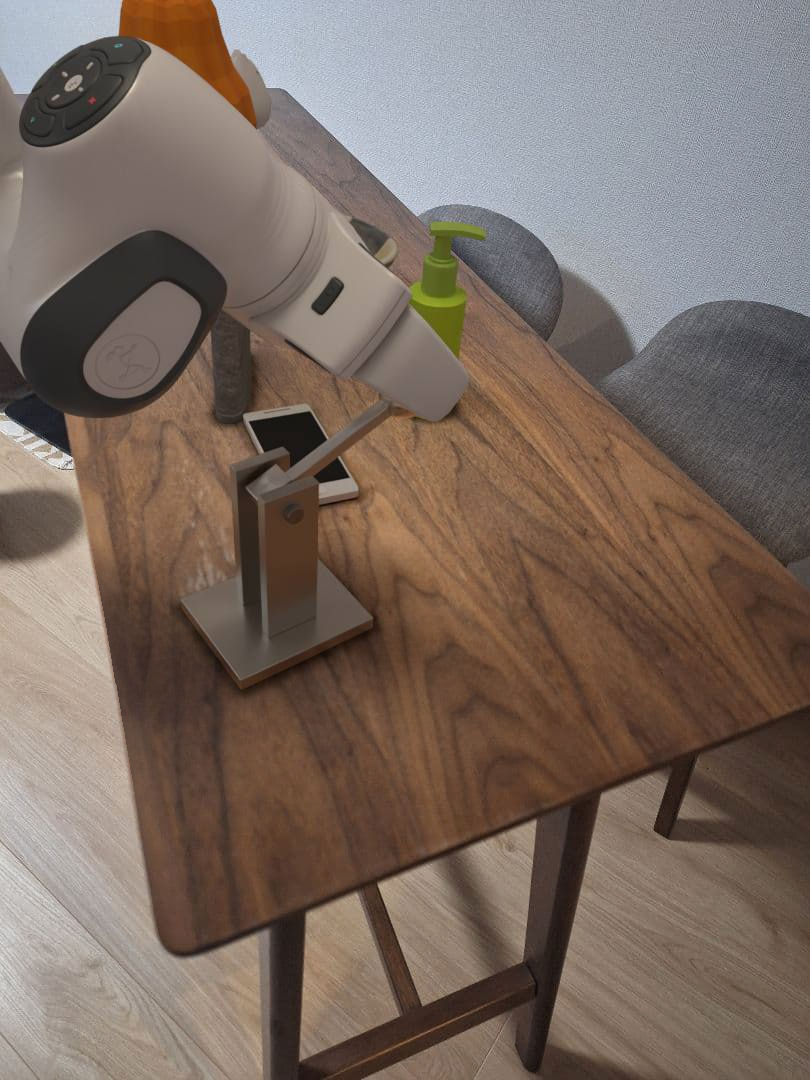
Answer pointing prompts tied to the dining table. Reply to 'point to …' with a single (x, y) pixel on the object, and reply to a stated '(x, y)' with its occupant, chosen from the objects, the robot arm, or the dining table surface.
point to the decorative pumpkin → (189, 42)
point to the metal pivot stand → (274, 582)
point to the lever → (329, 448)
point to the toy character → (253, 86)
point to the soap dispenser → (443, 285)
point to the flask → (231, 368)
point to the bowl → (375, 240)
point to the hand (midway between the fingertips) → (404, 366)
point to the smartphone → (300, 446)
